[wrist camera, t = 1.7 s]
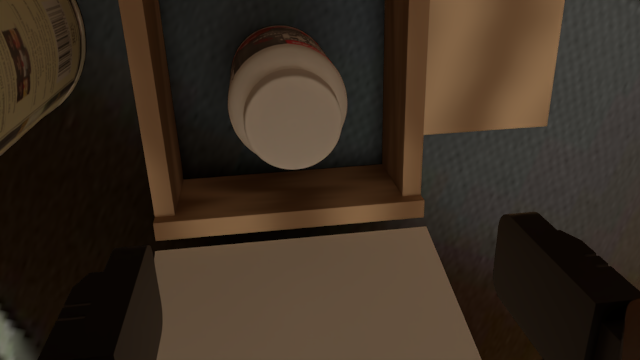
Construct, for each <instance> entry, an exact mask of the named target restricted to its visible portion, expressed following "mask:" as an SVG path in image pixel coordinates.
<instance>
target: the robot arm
mask: <svg viewBox="0 0 640 360" xmlns="http://www.w3.org/2000/svg"><path fill="white" fill-rule="evenodd" d="M493 280H494V286H495V290H496V292H497V295H498V297H499V298H500V300H501V301H502V303H503V304H504V305H505V307H506V308H507V310H508V311H509V312H510V314H511V315H512V316H513V318H514V319H515V321H516V322H517V323H518V325H519V326H520V327H521V329H522V330H523V332H524V333H525V334H526V336H527V337H528V338H529V340H530V341H531V343H532V344H533V345H534V347H535V348H536V349H537V351H538V352H539V354H540V355H541V356H542V358H543V359H544V360H640V291H639V290H638V289H636V288H635V287H634V286H633V285H632V284H631V283H630V282H628V281H627V280H626V279H625V278H624V277H623V276H622V275H620V274H619V273H618V272H617V271H616V270H615V269H614V268H612V267H611V266H608V263H607V262H606V261H604V260H603V259H602V258H601V257H600V256H596V253H595V252H594V251H593V250H592V249H591V248H590V247H588V246H587V245H586V244H585V243H584V242H583V241H582V240H580V239H578V238H575V237H573V236H571V235H569V234H567V233H565V232H563V231H561V230H556V229H555V228H554V227H553V226H552V225H551V224H550V223H549V222H548V221H547V220H545V219H544V218H543V217H542V216H541V215H540V214H539V213H537V212H527V213H516V214H505V215H503V216H502V217H501V219H500V221H499V226H498V235H497V243H496V252H495V260H494V269H493ZM64 305H65V307H64V308H62V310H61V312H60V314H59V317H58V321H56V323H55V325H54V327H53V329H52V331H51V333H50V335H49V337H48V339H47V341H46V343H45V345H44V347H43V349H42V352H41V354H40V356H39V358H38V360H156V359H157V354H158V349H159V344H160V339H161V334H162V325H163V315H162V304H161V298H160V292H159V286H158V281H157V275H156V269H155V263H154V258H153V253H152V249H151V247H150V246H149V245H145V246H133V247H122V248H114V249H113V251H112V253H111V255H110V258H109V260H108V263H107V265H106V267H105V270H104V272H96V273H89V274H88V275H87V276H85V277H84V278H83V279H82V280H81V281H80V282H79V283H78V284H76V285H75V286H74V287H73V288H72V290H71V292H70V294H69V296H68V298H67V300H66V302H65V304H64Z"/></svg>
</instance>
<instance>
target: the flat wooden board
mask: <svg viewBox="0 0 640 360" xmlns="http://www.w3.org/2000/svg"><path fill="white" fill-rule="evenodd" d="M564 2H565V0H430V9H429V30H428V51H427V71H426V92H425V113H424V133H423V135H429V134H443V133H456V132H470V131H484V130H498V129H512V128H525V127H539V126H547V121H548V114H549V107H550V100H551V93H552V86H553V79H554V72H555V65H556V58H557V51H558V44H559V37H560V30H561V23H562V16H563V9H564Z"/></svg>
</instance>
